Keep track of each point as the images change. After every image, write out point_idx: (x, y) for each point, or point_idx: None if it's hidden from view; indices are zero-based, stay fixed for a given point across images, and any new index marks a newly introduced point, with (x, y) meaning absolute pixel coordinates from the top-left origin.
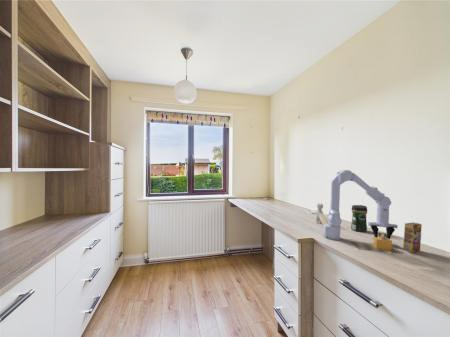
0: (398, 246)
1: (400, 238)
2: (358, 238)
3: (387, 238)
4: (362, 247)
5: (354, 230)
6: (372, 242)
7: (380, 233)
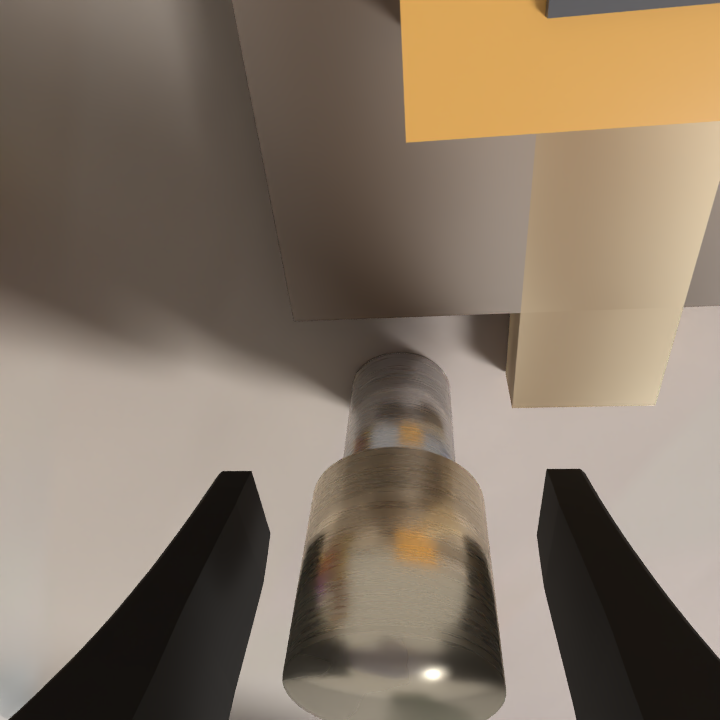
0: (76, 402)
1: (27, 695)
2: (708, 591)
3: (445, 121)
4: None
5: None
6: (662, 372)
7: (480, 653)
